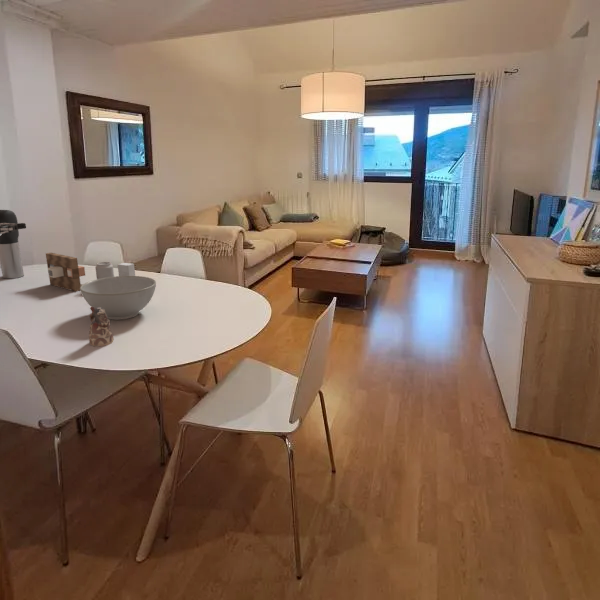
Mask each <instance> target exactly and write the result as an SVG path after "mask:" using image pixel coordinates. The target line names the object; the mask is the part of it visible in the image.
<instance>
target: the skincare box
mask: <svg viewBox="0 0 600 600" xmlns="http://www.w3.org/2000/svg"><path fill="white" fill-rule="evenodd" d="M117 270H118V271H117V272H118V276H136V270H135V264H134V263H130V262H129V263H128V262H122V263H118V264H117Z"/></svg>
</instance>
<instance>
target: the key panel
mask: <svg viewBox="0 0 600 600" xmlns="http://www.w3.org/2000/svg"><path fill="white" fill-rule="evenodd" d="M45 258H46V259H45V260H46V265H47V269H48V268H50V264H52V265H54V267H56V266H61V267H63V273H64V276H61V277H56V278H52V277H49V276H48V278H49V285H51V286H54V287H59V288H61V289H66V290H69V291H74V292H81V291H80V287H81V286H82V285H83V284H82V283H81V279H80V277H81V276H80V277H79V269H78V266H79V263H78V257H74V256H69V255H64V254H59V253H55V252H47V253H46V252H45ZM67 268H70V269H72V276H73V278H71V277H68V273H67Z"/></svg>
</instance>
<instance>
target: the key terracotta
mask: <svg viewBox="0 0 600 600" xmlns="http://www.w3.org/2000/svg"><path fill="white" fill-rule="evenodd" d="M78 269H79V277H83V276H86V270H85V266H82V265H78ZM67 273H68V277H71V278H73V276H72V269H70V268H67Z"/></svg>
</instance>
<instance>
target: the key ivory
mask: <svg viewBox="0 0 600 600" xmlns="http://www.w3.org/2000/svg"><path fill="white" fill-rule="evenodd" d="M47 272H48V278H49V277H52V278H56V277H61V276H64V273H63V267H61V266H56V267H51V268H48V267H47Z"/></svg>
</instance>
